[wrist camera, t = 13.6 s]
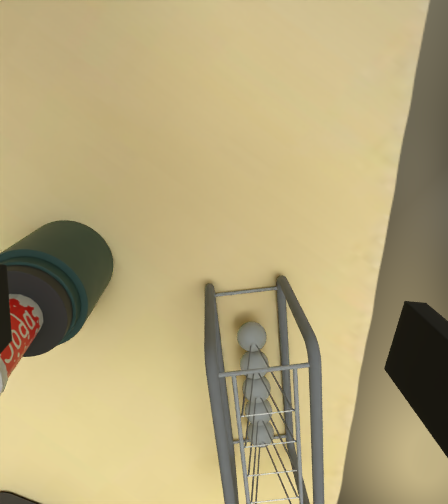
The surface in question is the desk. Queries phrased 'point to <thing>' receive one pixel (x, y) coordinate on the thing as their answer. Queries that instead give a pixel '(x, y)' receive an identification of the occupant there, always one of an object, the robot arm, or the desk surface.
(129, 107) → the desk surface
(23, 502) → the streaming box
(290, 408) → the newton's cradle
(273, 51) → the desk surface
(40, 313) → the beverage cup
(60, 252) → the green lidded canister
